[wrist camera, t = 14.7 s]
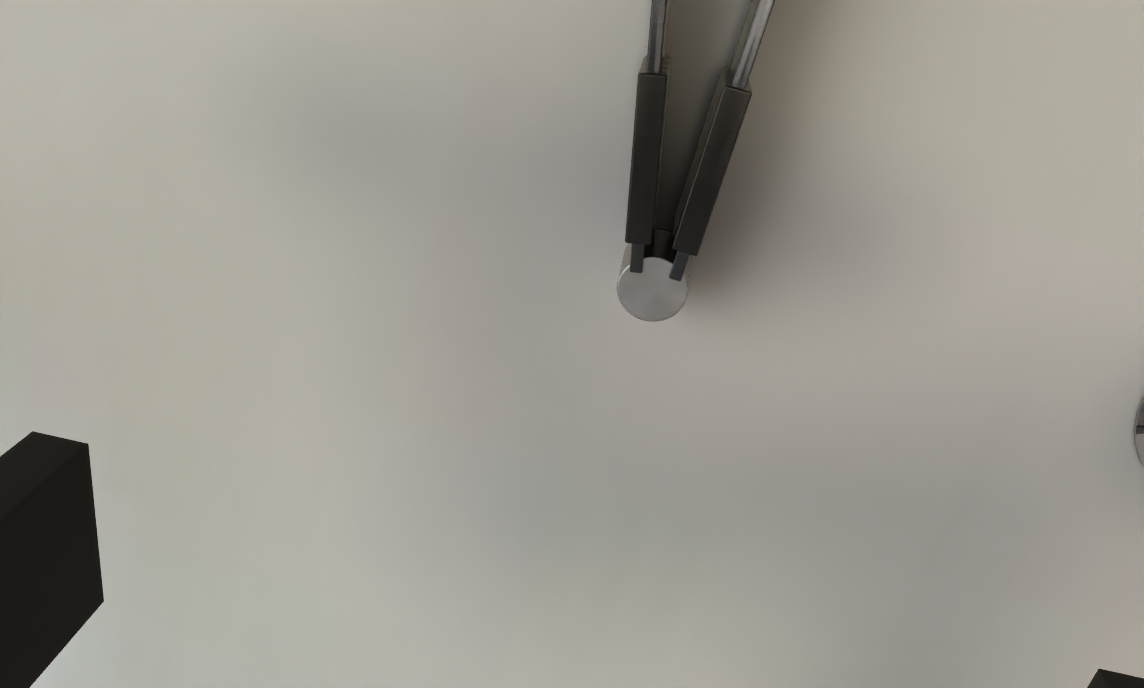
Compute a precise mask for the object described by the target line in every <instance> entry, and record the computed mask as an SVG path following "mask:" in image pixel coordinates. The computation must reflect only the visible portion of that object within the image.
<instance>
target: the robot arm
mask: <svg viewBox="0 0 1144 688" xmlns="http://www.w3.org/2000/svg"><path fill="white" fill-rule="evenodd" d="M103 601H104V599H103V588H102V578H101V568H100V558H99V548H98V538H97V528H96V518H95V508H94V497H93V487H92V477H91V467H90V457H89V447H88V444H86V443H82V442H77V441H73V440H68V439H64V438H59V437H55V436H51V435H46V434H42V433H37V432H33V431H32V432H31V433H30V434H29V435H27V436H26V437H25V438H23V439H22V440H21V441H20V442H18V443H17V444H16V445H15V446H13V447H12V448H11V449H10V450H8V451H7V452H6V453H4V454H3V455H2V456H1V457H0V688H30V686H31V685H32V684H33V683H34V682H35V681H36V679H37V678H38V677H39V676H40V675H41V674H42V672H43V671H44V670H45V669H46V668H47V667H48V665H49V664H50V663H51V662H52V661H53V660H54V658H55V657H56V656H57V655H58V654H59V653H60V652H61V650H62V649H63V648H64V647H65V646H66V645H67V643H68V642H69V641H70V640H71V639H72V638H73V636H74V635H75V634H76V633H77V632H78V631H79V629H80V628H81V627H82V626H83V625H84V624H85V622H86V621H87V620H88V619H89V618H90V617H91V615H92V614H93V613H94V612H95V611H96V610H97V608H98V607H99V606H100V605H101V604H102V603H103ZM1087 688H1144V679H1143V678H1139V677H1134V676H1130V675H1125V674H1121V673H1116V672H1112V671H1107V670H1103V669H1098V671H1097V673H1096V674H1095V676H1094V678H1093V679H1092V681H1091V682H1090V684H1089V686H1088V687H1087Z"/></svg>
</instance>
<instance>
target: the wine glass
mask: <svg viewBox="0 0 1144 688" xmlns="http://www.w3.org/2000/svg"><path fill="white" fill-rule="evenodd" d="M1134 443H1135V447H1136V451H1137V454H1138V457H1139V459H1140V461H1141V463H1142V465H1143V466H1144V397H1143V399H1142V402H1141V404H1140V407H1139V409H1138V411H1137V415H1136V420H1135V426H1134Z"/></svg>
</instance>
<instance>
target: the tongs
mask: <svg viewBox="0 0 1144 688" xmlns="http://www.w3.org/2000/svg"><path fill="white" fill-rule="evenodd" d="M669 2H670V0H652V6H651V18H650V30H649V42H648V54H647V55H646V56H645V57H644V60H643V63H642V66H641V68H640V71H639V74H638V84H637V97H636V109H635V122H634V134H633V147H632V160H631V172H630V185H629V198H628V210H627V223H626V236H625V242H626V243H628V245H627V247H626V249H625V252H624V256H623V261H622V265H621V270H620V274H619V279H618V283H617V293H618V297H619V300H620V302H621V304H622V306H623V307H624V308H625V309H626V311H628V312H629V313H630V314H631V315H633V316H634V317H636V318H638V319H641V320H645V321H661V320H665V319H668V318H670V317H672V316H673V315H675V314H676V313H677V312H678V311H679V310H680V309H681V308H682V307H683V305H684V304H685V301H686V299H687V295H688V282H689V256H690V254H691V255H694V256H697V255H698V252H699V249H700V246H701V243H702V240H703V237H704V234H705V231H706V228H707V225H708V222H709V219H710V216H711V213H712V210H713V207H714V205H715V202H716V199H717V196H718V193H719V190H720V187H721V184H722V181H723V178H724V175H725V172H726V169H727V166H728V163H729V160H730V157H731V154H732V151H733V149H734V146H735V143H736V140H737V137H738V134H739V131H740V128H741V125H742V122H743V119H744V116H745V113H746V110H747V107H748V104H749V101H750V98H751V95H752V92H751V87H750V81H749V76H750V73H751V70H752V67H753V64H754V61H755V58H756V55H757V52H758V49H759V46H760V43H761V40H762V37H763V34H764V31H765V28H766V25H767V22H768V19H769V16H770V13H771V10H772V7H773V5H774V2H775V0H751V2H750V5H749V9H748V12H747V15H746V18H745V21H744V24H743V27H742V30H741V33H740V37H739V40H738V43H737V46H736V49H735V52H734V55H733V58H732V61H731V64H730V68H728V67H723V68H722V71H721V74H720V77H719V80H718V83H717V86H716V89H715V92H714V96H713V99H712V102H711V105H710V108H709V111H708V114H707V118H706V121H705V124H704V127H703V130H702V133H701V136H700V140H699V143H698V146H697V149H696V152H695V155H694V158H693V162H692V165H691V168H690V171H689V174H688V177H687V180H686V184H685V187H684V190H683V193H682V196H681V199H680V202H679V205H678V209H677V212H676V215H675V220H674V230H673V233H671V232H668V231H665V230H659V229H654V225H655V219H656V211H657V201H658V190H659V180H660V169H661V159H662V148H663V138H664V127H665V117H666V106H667V96H668V85H669V74H670V64H671V58H670V57H664V56H665V45H666V34H667V23H668V13H669Z"/></svg>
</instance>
